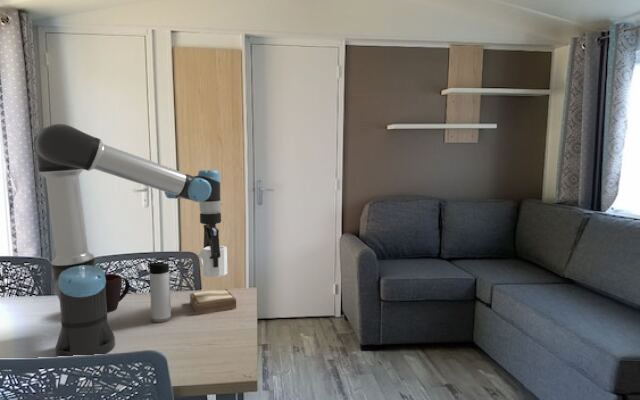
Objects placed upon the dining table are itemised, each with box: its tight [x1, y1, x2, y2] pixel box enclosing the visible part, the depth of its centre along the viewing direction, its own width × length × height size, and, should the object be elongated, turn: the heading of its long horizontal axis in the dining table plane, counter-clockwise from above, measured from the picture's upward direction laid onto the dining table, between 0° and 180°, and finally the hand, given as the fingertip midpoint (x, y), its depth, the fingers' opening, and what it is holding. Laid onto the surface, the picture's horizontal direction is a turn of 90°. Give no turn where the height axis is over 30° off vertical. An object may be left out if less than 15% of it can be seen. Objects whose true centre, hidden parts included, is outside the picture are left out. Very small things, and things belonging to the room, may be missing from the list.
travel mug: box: [148, 262, 172, 324], centre depth 149 cm, size 6×7×20 cm
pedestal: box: [189, 288, 237, 316], centre depth 163 cm, size 14×14×4 cm
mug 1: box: [105, 273, 130, 314], centre depth 160 cm, size 10×14×12 cm
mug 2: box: [197, 245, 228, 278], centre depth 162 cm, size 12×9×10 cm
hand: (212, 272), depth 162 cm, fingers closed on mug 2, 9 cm apart
